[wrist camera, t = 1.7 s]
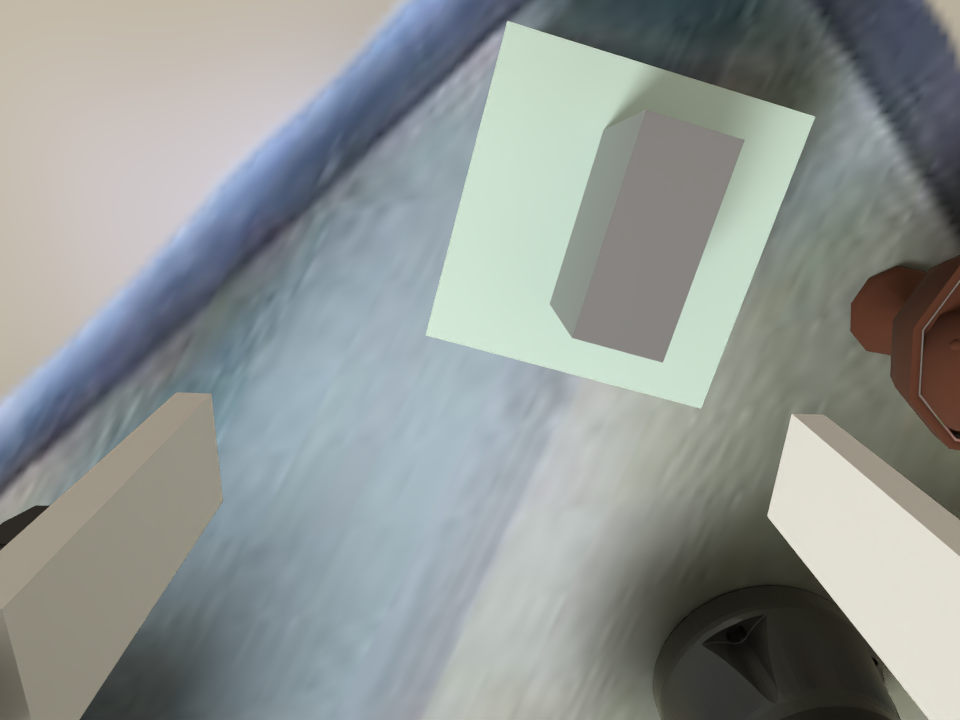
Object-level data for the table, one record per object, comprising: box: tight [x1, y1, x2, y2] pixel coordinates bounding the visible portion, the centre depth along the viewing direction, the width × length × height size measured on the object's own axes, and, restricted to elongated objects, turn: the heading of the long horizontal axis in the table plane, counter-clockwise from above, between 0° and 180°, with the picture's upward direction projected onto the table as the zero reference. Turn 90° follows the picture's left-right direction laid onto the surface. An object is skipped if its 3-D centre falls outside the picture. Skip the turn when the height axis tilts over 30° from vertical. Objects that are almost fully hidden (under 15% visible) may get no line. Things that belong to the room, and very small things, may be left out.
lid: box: [426, 21, 815, 409], centre depth 26 cm, size 14×14×9 cm
